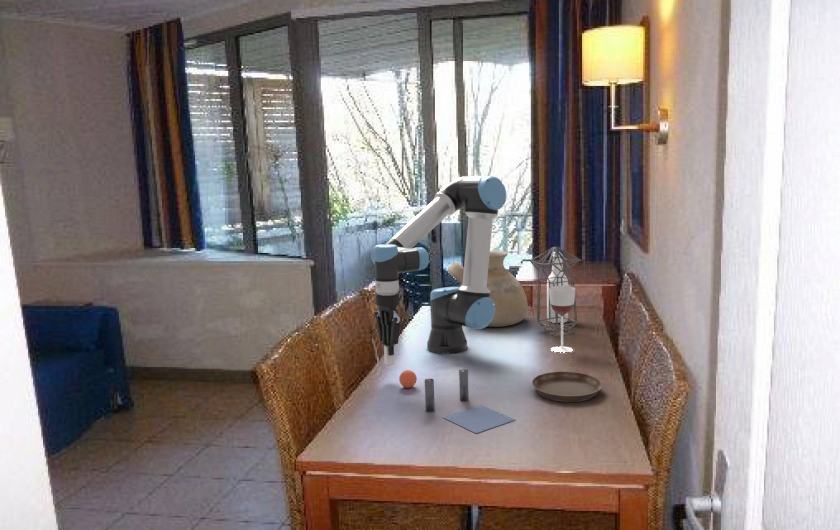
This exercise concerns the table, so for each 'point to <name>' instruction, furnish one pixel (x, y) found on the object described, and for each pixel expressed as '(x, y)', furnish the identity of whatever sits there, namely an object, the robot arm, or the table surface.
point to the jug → (500, 290)
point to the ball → (407, 378)
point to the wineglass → (562, 308)
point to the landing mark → (479, 419)
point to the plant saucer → (566, 386)
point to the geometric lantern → (557, 252)
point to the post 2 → (463, 384)
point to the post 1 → (429, 395)
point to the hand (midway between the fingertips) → (389, 364)
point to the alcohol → (556, 271)
